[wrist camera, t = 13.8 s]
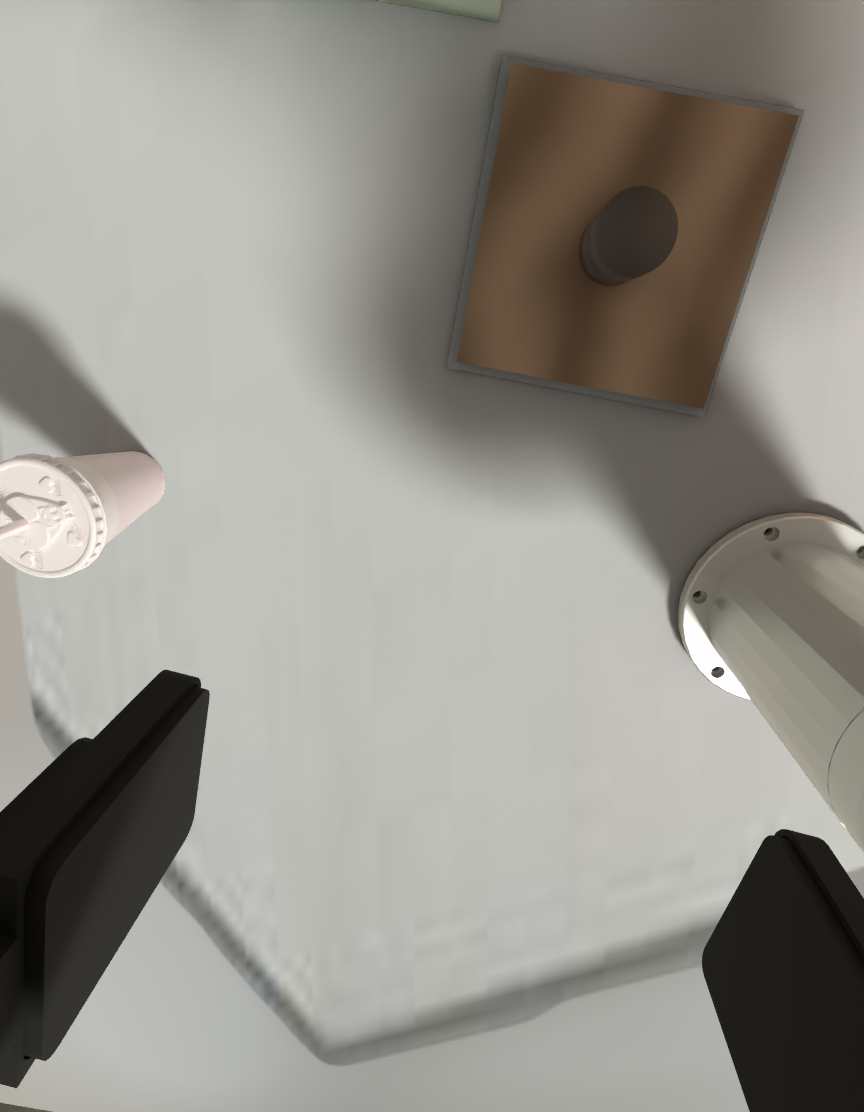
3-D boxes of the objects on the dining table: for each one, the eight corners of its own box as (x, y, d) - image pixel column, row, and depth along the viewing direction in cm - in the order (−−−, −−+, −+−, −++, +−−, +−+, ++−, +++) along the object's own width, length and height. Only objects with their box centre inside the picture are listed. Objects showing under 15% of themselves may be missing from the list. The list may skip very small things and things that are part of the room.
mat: (798, 114, 31) (804, 110, 30) (700, 416, 36) (703, 417, 35) (502, 60, 31) (502, 55, 30) (447, 367, 36) (446, 367, 35)
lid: (791, 121, 30) (858, 72, 25) (698, 407, 35) (737, 420, 30) (511, 70, 31) (516, 11, 25) (457, 361, 35) (451, 365, 30)
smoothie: (73, 445, 40) (-134, 497, 26) (160, 417, 38) (-10, 457, 25) (116, 537, 41) (-56, 628, 28) (201, 512, 40) (62, 596, 27)
